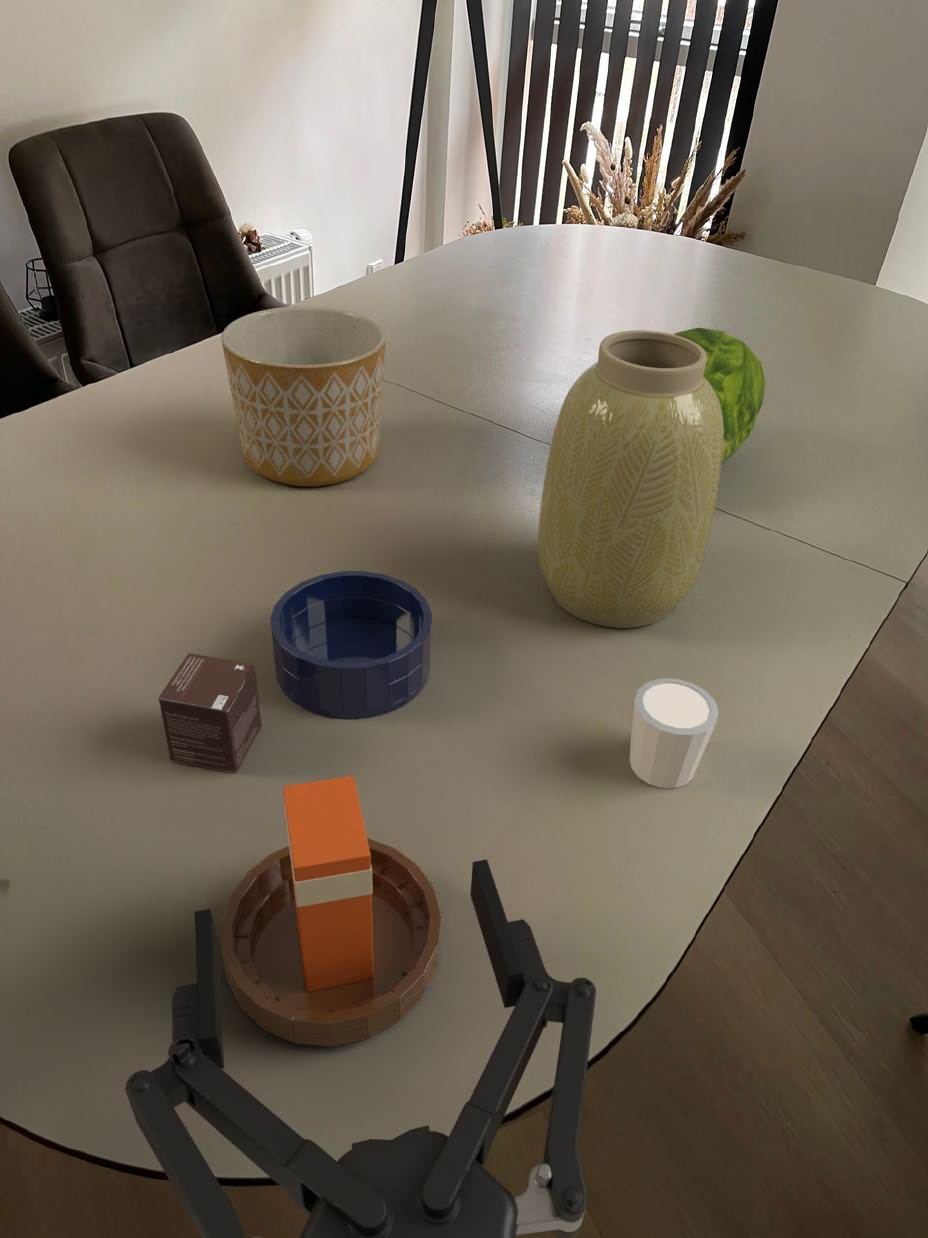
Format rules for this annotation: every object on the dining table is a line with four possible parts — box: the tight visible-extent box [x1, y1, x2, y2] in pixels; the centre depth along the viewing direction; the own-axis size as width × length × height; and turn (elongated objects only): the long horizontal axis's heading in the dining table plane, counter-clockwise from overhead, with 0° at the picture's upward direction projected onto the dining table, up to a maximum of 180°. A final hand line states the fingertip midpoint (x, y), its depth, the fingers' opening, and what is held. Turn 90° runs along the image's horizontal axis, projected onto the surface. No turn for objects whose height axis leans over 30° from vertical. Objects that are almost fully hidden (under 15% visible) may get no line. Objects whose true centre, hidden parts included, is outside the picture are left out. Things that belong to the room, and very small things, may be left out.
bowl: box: [220, 837, 442, 1047], centre depth 65 cm, size 15×15×4 cm
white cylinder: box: [629, 678, 720, 789], centre depth 80 cm, size 7×7×7 cm
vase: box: [537, 329, 724, 629], centre depth 94 cm, size 17×17×27 cm
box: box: [157, 652, 263, 774], centre depth 79 cm, size 6×6×7 cm
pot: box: [269, 570, 433, 720], centre depth 89 cm, size 15×15×6 cm
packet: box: [282, 775, 374, 992], centre depth 62 cm, size 5×7×13 cm
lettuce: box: [672, 327, 767, 466], centre depth 120 cm, size 17×23×16 cm
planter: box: [220, 305, 387, 487], centre depth 118 cm, size 19×19×16 cm
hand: (346, 900), depth 47 cm, fingers open, 13 cm apart
